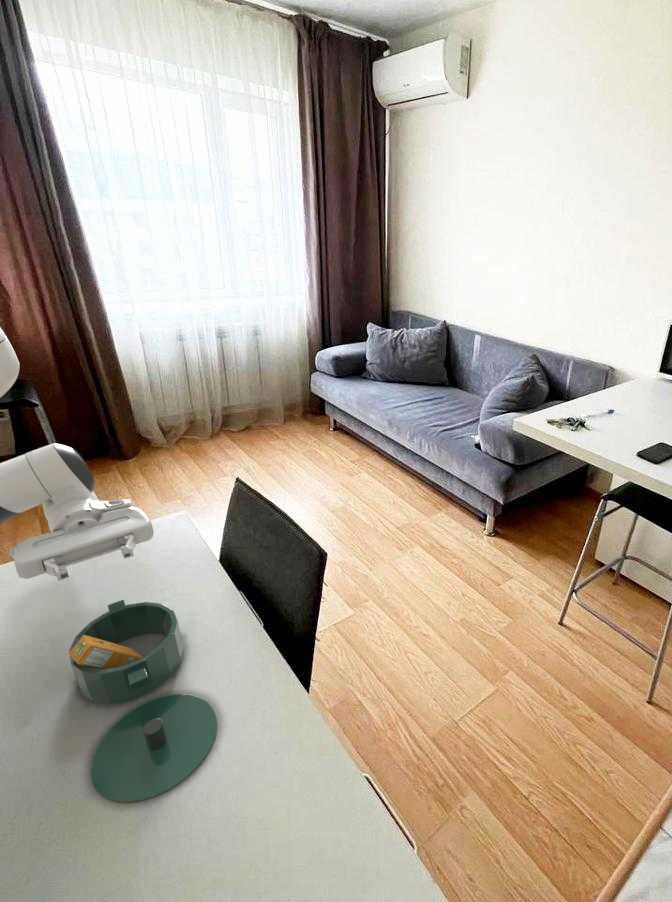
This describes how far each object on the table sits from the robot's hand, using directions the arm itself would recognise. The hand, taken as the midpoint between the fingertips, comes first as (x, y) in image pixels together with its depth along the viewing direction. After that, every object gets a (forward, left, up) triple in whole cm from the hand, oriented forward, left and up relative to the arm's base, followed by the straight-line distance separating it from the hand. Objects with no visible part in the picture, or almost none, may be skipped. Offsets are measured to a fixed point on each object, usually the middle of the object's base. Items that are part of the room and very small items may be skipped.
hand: (96, 564), depth 84 cm
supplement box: (+1, -12, -13) cm, 18 cm away
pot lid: (+1, -29, -13) cm, 32 cm away
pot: (+1, -12, -14) cm, 19 cm away
